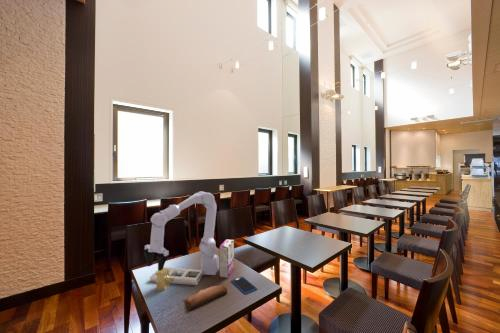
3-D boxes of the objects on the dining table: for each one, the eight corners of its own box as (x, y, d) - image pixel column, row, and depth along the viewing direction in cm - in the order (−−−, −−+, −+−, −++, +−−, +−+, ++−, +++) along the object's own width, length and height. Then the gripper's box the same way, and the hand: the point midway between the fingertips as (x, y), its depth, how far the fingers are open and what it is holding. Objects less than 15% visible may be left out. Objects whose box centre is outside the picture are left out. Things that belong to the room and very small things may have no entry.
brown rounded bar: (217, 285, 103) (221, 276, 101) (224, 298, 99) (228, 289, 96) (181, 301, 92) (185, 291, 89) (188, 316, 87) (192, 307, 84)
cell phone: (242, 277, 112) (242, 276, 112) (258, 290, 100) (258, 289, 100) (230, 281, 108) (230, 280, 108) (245, 295, 96) (245, 294, 96)
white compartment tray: (203, 274, 114) (203, 270, 114) (196, 285, 104) (196, 280, 104) (161, 271, 117) (161, 267, 117) (150, 281, 107) (150, 276, 107)
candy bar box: (225, 267, 122) (225, 238, 122) (234, 268, 121) (234, 239, 121) (219, 277, 111) (219, 246, 111) (228, 278, 110) (228, 246, 110)
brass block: (169, 285, 104) (169, 269, 104) (164, 290, 100) (164, 273, 100) (161, 284, 104) (161, 268, 104) (156, 289, 100) (156, 272, 100)
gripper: (139, 237, 101) (137, 266, 101) (160, 244, 95) (158, 275, 94) (152, 234, 108) (150, 261, 107) (173, 240, 101) (171, 269, 100)
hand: (155, 267), depth 101 cm, fingers open, 7 cm apart
